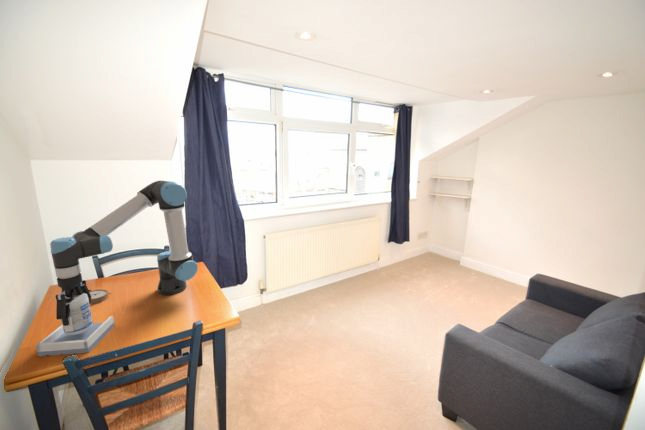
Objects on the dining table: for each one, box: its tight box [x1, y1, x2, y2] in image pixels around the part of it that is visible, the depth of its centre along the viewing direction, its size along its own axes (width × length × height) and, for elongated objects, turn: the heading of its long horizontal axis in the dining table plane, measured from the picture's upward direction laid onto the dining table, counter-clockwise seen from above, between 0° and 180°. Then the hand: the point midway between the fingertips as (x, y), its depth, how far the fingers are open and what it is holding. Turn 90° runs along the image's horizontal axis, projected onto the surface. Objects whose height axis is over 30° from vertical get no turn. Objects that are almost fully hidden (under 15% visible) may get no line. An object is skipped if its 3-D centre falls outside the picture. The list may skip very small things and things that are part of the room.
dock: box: [35, 315, 115, 357], centre depth 119 cm, size 18×18×5 cm
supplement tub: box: [60, 293, 93, 335], centre depth 118 cm, size 10×10×15 cm
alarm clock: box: [88, 288, 111, 306], centre depth 152 cm, size 11×5×15 cm
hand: (78, 323), depth 119 cm, fingers closed on supplement tub, 10 cm apart
